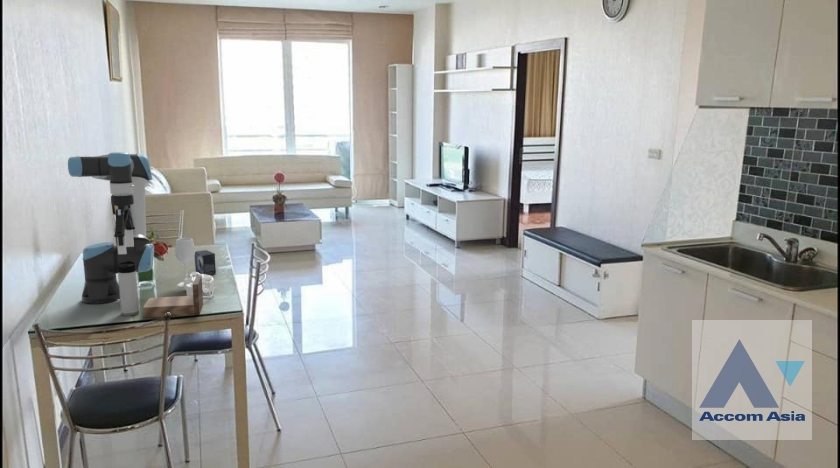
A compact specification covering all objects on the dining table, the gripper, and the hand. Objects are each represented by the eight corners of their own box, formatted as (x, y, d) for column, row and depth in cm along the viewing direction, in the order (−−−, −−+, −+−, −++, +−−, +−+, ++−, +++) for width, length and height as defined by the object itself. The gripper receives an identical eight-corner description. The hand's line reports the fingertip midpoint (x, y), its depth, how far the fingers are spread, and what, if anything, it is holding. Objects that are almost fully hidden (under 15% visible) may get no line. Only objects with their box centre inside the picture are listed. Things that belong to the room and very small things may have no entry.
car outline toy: (183, 289, 274) (182, 273, 273) (209, 286, 279) (209, 270, 278) (188, 301, 257) (187, 284, 255) (216, 298, 261) (215, 281, 260)
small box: (194, 272, 304) (193, 251, 302) (207, 270, 308) (206, 249, 306) (203, 276, 296) (202, 255, 294) (216, 274, 300) (215, 253, 298)
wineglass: (190, 288, 276) (187, 241, 272) (172, 286, 278) (170, 240, 274) (201, 283, 284) (198, 237, 281) (183, 281, 286) (181, 236, 282)
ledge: (143, 317, 235) (141, 286, 233) (150, 307, 248) (148, 278, 246) (199, 314, 240) (197, 284, 238) (203, 304, 252) (201, 275, 250)
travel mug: (142, 310, 244) (138, 260, 240) (135, 316, 237) (131, 264, 234) (125, 310, 243) (121, 260, 240) (118, 316, 237) (114, 264, 233)
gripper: (125, 198, 221) (130, 256, 225) (139, 190, 245) (143, 243, 249) (102, 198, 219) (107, 257, 223) (118, 190, 243) (122, 244, 247)
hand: (126, 250), depth 236 cm, fingers open, 13 cm apart
